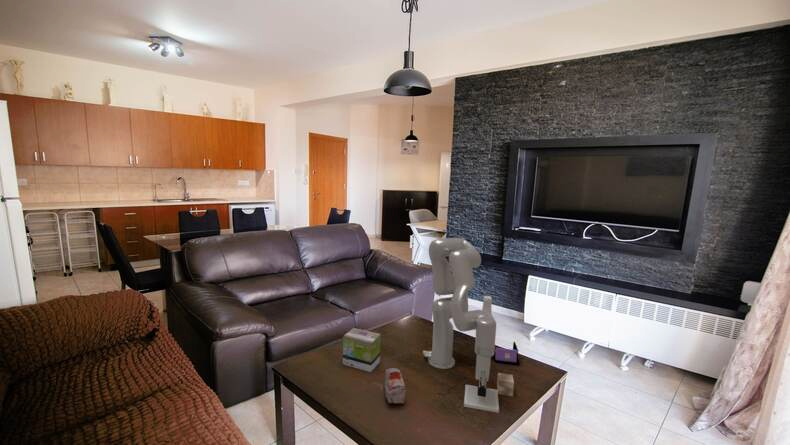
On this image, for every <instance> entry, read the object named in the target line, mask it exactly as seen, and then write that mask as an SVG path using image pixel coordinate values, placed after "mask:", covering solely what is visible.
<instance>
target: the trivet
mask: <svg viewBox="0 0 790 445" xmlns="http://www.w3.org/2000/svg"><path fill="white" fill-rule="evenodd" d="M464 386H465V388H464V399H463V407H466V408H470V409H476V410H481V411H487V412H492V413H497V414H499V413H500V406H499V405H500V404H499V394H498V391H497V389H494V388H488V387H487V388H486V397H482V396H478V385H476V386H475V385H471V384H465V385H464Z"/></svg>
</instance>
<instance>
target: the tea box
mask: <svg viewBox="0 0 790 445" xmlns="http://www.w3.org/2000/svg"><path fill="white" fill-rule="evenodd" d="M381 335H382V334H381V333H377V332H373V331H369V330H364V329H361V328H356V327H352V328H351V329H350V330H349V331H348V332H347V333H345V334H344V335H343V337H342V338H343V339H342V365H344V366H348V367H350V368H355V369H358V370H361V371H364V372H365V371H366V372H368V373H371V372H373V371H374V369H375V368H376V367H377V366H378V365H379V364H380V362H381V344H382V343H381V342H382V341H381V340H382V339H381V338H382V336H381Z"/></svg>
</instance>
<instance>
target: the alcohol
mask: <svg viewBox="0 0 790 445" xmlns="http://www.w3.org/2000/svg"><path fill="white" fill-rule="evenodd" d="M492 299H493V298H492V296H490V295H484V296H483V301H482V302H483V303H482V309H481V310H482V311H484V312H485V313H486V314H487V315H488V316H489V317H490V318H493V319H494V320H495V321H496V319H495V318H494V316H493V313H492V301H493V300H492Z"/></svg>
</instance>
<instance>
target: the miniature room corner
mask: <svg viewBox="0 0 790 445" xmlns="http://www.w3.org/2000/svg"><path fill="white" fill-rule="evenodd" d="M512 344H513V345H512V349H511V348H501V347H495V350H494V355H493V356H492V357H493V361H494V363H498V364H504V365H505V364H507V365H515V366H519V365H520V361H519V358H518V357H519V349H518V346H517V344H516V341H513V342H512Z"/></svg>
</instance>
